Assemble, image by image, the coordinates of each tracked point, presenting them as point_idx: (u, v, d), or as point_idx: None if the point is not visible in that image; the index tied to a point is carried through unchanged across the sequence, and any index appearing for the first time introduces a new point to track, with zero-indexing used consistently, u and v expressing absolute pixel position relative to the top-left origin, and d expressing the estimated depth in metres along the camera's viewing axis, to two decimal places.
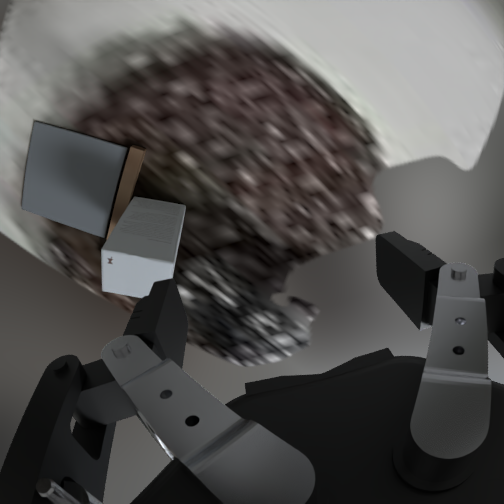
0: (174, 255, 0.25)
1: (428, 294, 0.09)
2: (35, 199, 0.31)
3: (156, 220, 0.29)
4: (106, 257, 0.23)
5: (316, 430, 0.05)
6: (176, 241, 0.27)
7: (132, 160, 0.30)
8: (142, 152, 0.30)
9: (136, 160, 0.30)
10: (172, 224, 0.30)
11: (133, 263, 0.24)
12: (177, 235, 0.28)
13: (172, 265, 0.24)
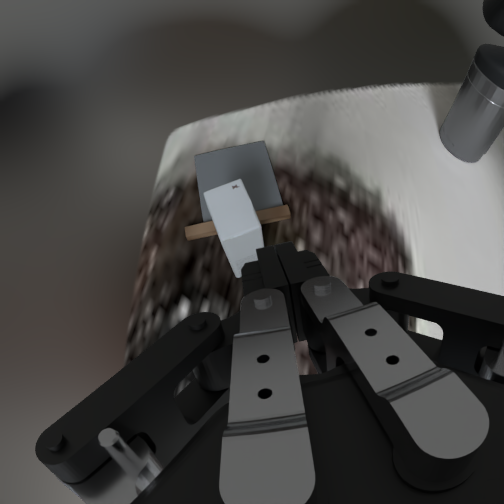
0: (261, 231, 0.31)
1: (299, 306, 0.10)
2: (207, 162, 0.47)
3: None
4: (236, 183, 0.32)
5: (316, 430, 0.05)
6: None
7: (279, 210, 0.42)
8: (288, 213, 0.42)
9: (280, 212, 0.42)
10: None
11: (243, 201, 0.31)
12: (263, 243, 0.34)
13: (258, 226, 0.30)
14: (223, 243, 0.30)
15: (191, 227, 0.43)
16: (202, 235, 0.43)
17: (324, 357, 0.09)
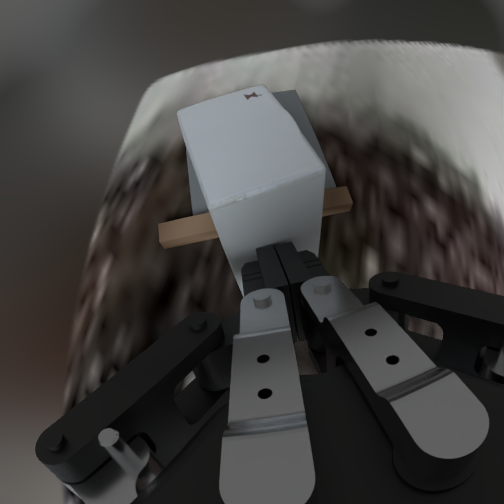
0: (323, 189, 0.11)
1: (299, 306, 0.10)
2: None
3: None
4: (255, 90, 0.13)
5: (316, 430, 0.05)
6: (320, 222, 0.13)
7: (332, 195, 0.23)
8: (350, 201, 0.22)
9: (335, 200, 0.22)
10: None
11: (272, 118, 0.11)
12: (319, 235, 0.14)
13: (319, 168, 0.10)
14: (216, 216, 0.10)
15: (170, 224, 0.23)
16: (189, 239, 0.23)
17: (324, 357, 0.09)
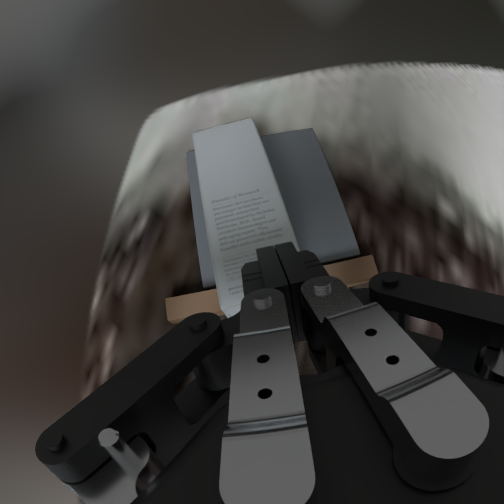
0: (256, 128, 0.19)
1: (299, 306, 0.10)
2: None
3: None
4: None
5: (316, 431, 0.05)
6: (265, 152, 0.18)
7: (357, 267, 0.20)
8: (376, 274, 0.20)
9: (360, 272, 0.20)
10: None
11: None
12: (270, 165, 0.17)
13: (248, 118, 0.19)
14: (194, 136, 0.19)
15: (178, 300, 0.20)
16: None
17: (324, 357, 0.09)
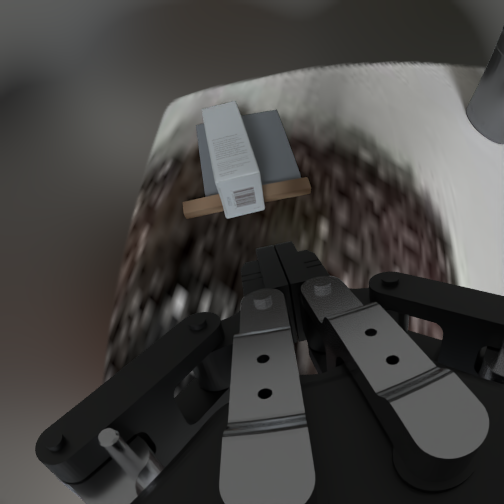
0: (237, 106, 0.33)
1: (299, 306, 0.10)
2: None
3: None
4: None
5: (316, 431, 0.05)
6: (241, 117, 0.32)
7: (297, 183, 0.35)
8: (309, 187, 0.34)
9: (299, 186, 0.34)
10: None
11: None
12: (243, 123, 0.32)
13: (233, 101, 0.34)
14: (203, 111, 0.33)
15: (190, 202, 0.35)
16: (203, 212, 0.35)
17: (324, 357, 0.09)
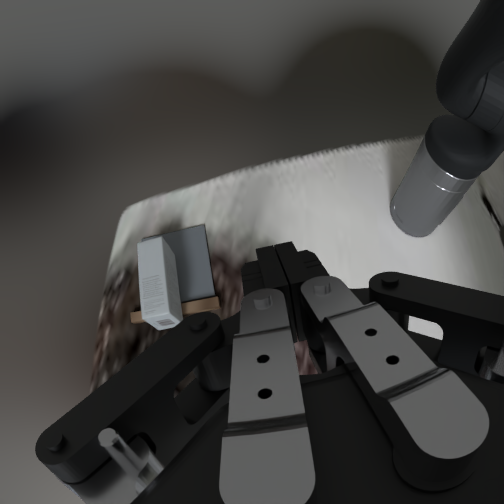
0: (162, 242, 0.45)
1: (299, 306, 0.10)
2: None
3: (171, 283, 0.45)
4: None
5: (316, 431, 0.05)
6: (164, 256, 0.44)
7: (209, 302, 0.47)
8: (217, 305, 0.46)
9: (210, 304, 0.46)
10: (168, 278, 0.43)
11: None
12: (164, 263, 0.44)
13: None
14: (138, 245, 0.45)
15: (135, 313, 0.47)
16: (144, 320, 0.47)
17: (324, 357, 0.09)
